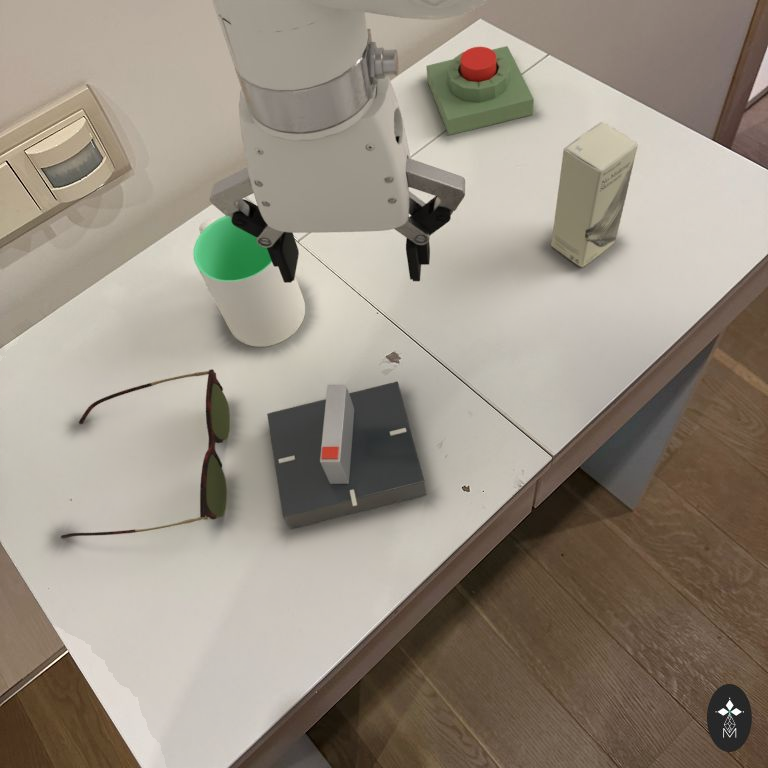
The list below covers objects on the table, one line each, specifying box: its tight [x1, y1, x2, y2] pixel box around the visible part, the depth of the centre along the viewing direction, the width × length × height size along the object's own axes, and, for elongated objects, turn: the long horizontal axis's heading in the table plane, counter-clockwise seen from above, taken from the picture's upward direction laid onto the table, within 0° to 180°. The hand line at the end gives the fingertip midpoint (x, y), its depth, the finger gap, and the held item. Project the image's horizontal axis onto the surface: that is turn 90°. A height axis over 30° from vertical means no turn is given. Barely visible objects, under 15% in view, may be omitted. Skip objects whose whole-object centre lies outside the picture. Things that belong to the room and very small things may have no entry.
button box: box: [425, 45, 535, 136], centre depth 87 cm, size 10×10×4 cm
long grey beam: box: [320, 383, 354, 484], centre depth 62 cm, size 7×2×5 cm, turn 177°
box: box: [550, 121, 639, 268], centre depth 70 cm, size 5×4×13 cm
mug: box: [192, 215, 306, 348], centre depth 72 cm, size 12×8×10 cm, turn 42°
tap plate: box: [266, 381, 428, 529], centre depth 65 cm, size 12×11×3 cm
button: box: [460, 46, 496, 82], centre depth 84 cm, size 4×4×2 cm
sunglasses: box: [60, 368, 231, 539], centre depth 67 cm, size 14×15×5 cm
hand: (353, 267), depth 57 cm, fingers open, 9 cm apart
